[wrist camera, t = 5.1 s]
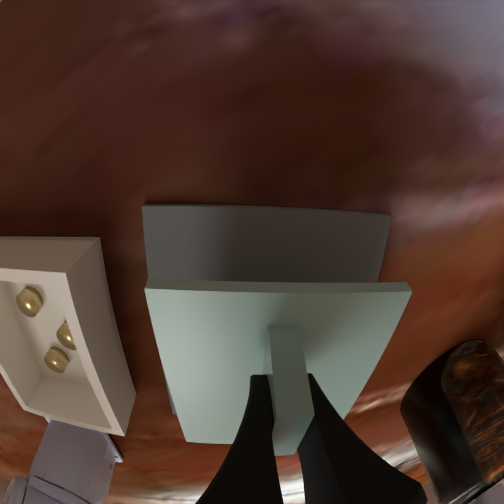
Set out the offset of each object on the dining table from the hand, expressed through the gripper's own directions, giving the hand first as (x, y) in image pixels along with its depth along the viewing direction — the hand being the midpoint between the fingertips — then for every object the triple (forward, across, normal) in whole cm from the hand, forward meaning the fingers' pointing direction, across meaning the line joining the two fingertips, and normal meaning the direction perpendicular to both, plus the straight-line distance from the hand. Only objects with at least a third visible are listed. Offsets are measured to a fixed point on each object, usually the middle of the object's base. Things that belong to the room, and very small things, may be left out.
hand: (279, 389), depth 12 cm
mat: (+8, 0, +4) cm, 8 cm away
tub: (+8, +15, +4) cm, 17 cm away
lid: (+3, 0, +3) cm, 4 cm away
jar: (+8, -20, +12) cm, 24 cm away
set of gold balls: (+8, +15, +4) cm, 17 cm away
